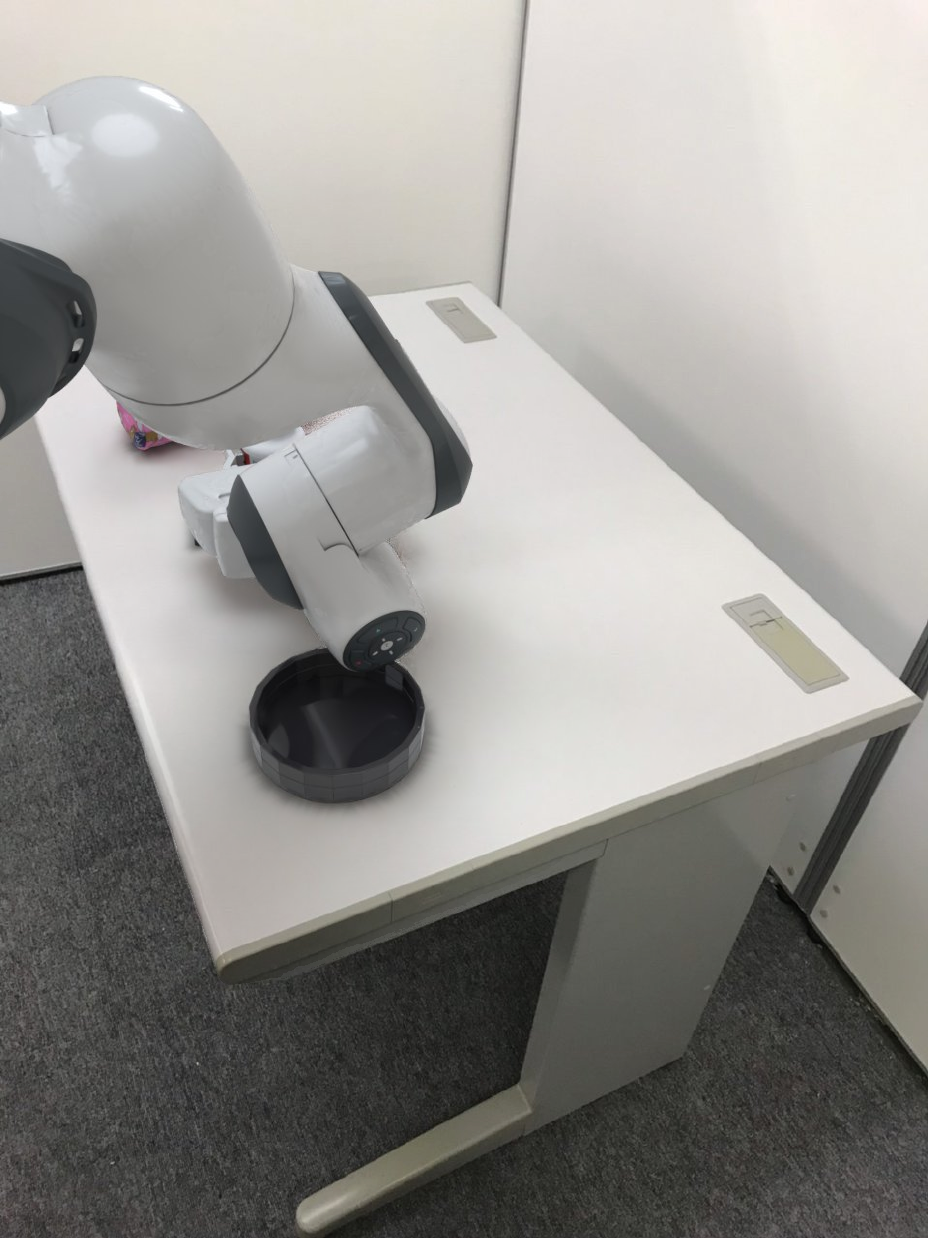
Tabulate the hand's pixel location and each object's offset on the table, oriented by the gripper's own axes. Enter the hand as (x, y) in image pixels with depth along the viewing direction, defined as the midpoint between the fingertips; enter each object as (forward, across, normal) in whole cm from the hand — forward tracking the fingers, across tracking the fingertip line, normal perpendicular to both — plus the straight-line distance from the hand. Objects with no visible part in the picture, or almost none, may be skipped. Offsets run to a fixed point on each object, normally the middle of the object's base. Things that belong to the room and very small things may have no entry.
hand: (270, 446), depth 93 cm
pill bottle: (-1, 0, +7) cm, 7 cm away
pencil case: (+17, +1, +7) cm, 18 cm away
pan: (-31, +4, +7) cm, 32 cm away
